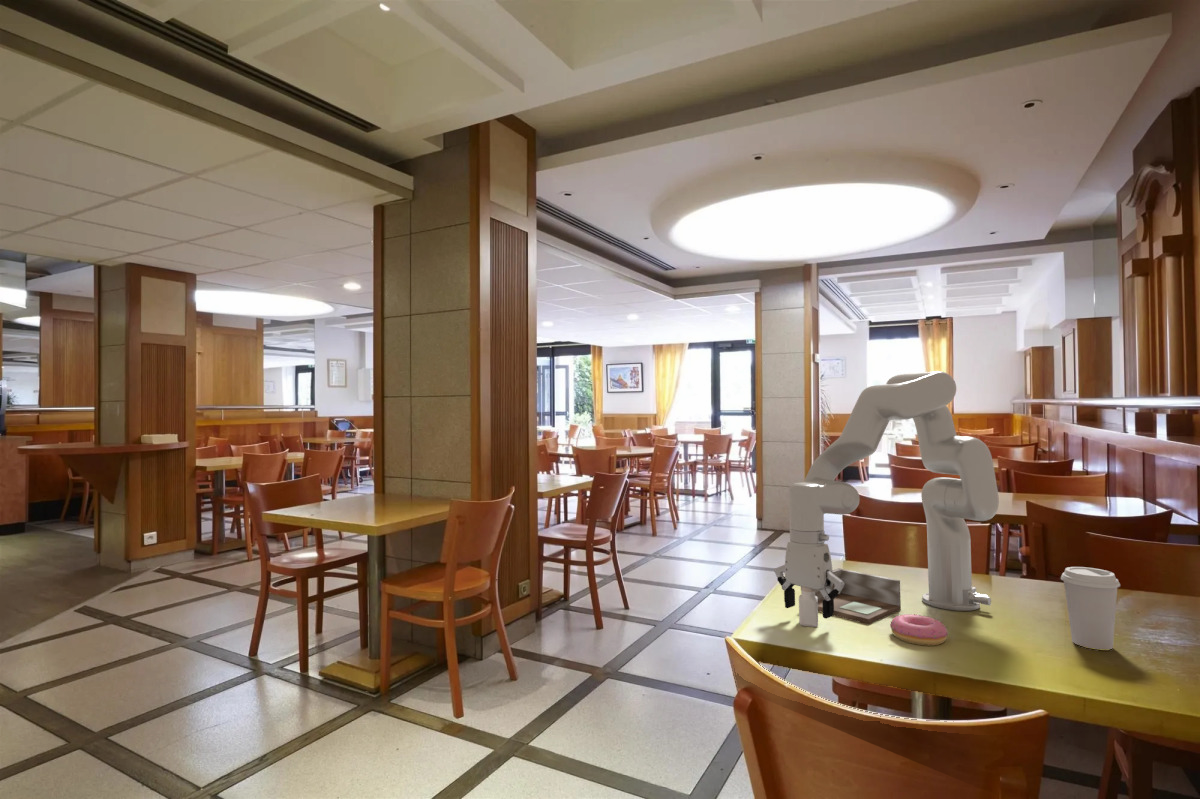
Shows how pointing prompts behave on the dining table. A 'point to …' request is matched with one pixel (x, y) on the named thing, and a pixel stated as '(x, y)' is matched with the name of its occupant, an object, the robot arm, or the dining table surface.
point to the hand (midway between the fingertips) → (808, 611)
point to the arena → (864, 596)
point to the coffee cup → (1091, 605)
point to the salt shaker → (808, 607)
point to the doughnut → (918, 629)
